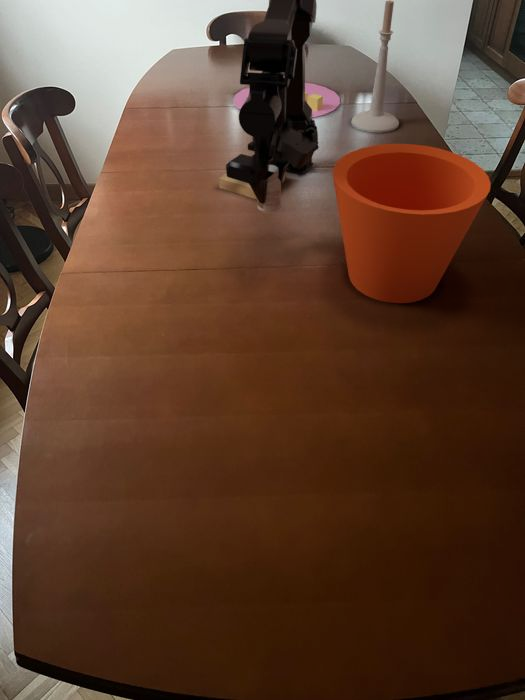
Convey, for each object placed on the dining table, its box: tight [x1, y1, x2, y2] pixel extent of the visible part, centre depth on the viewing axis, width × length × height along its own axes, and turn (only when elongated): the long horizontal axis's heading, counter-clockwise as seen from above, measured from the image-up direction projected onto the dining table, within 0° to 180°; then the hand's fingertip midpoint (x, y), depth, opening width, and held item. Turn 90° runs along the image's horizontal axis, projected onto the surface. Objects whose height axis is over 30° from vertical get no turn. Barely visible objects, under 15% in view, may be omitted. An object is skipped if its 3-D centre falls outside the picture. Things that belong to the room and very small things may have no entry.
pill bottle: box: [256, 165, 282, 214], centre depth 109 cm, size 4×4×8 cm
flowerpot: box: [332, 143, 492, 304], centre depth 102 cm, size 25×25×20 cm
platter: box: [232, 82, 341, 119], centre depth 175 cm, size 32×32×3 cm
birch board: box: [218, 172, 286, 200], centre depth 135 cm, size 11×11×2 cm
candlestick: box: [351, 0, 400, 134], centre depth 152 cm, size 13×13×30 cm
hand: (268, 197), depth 110 cm, fingers closed on pill bottle, 4 cm apart
